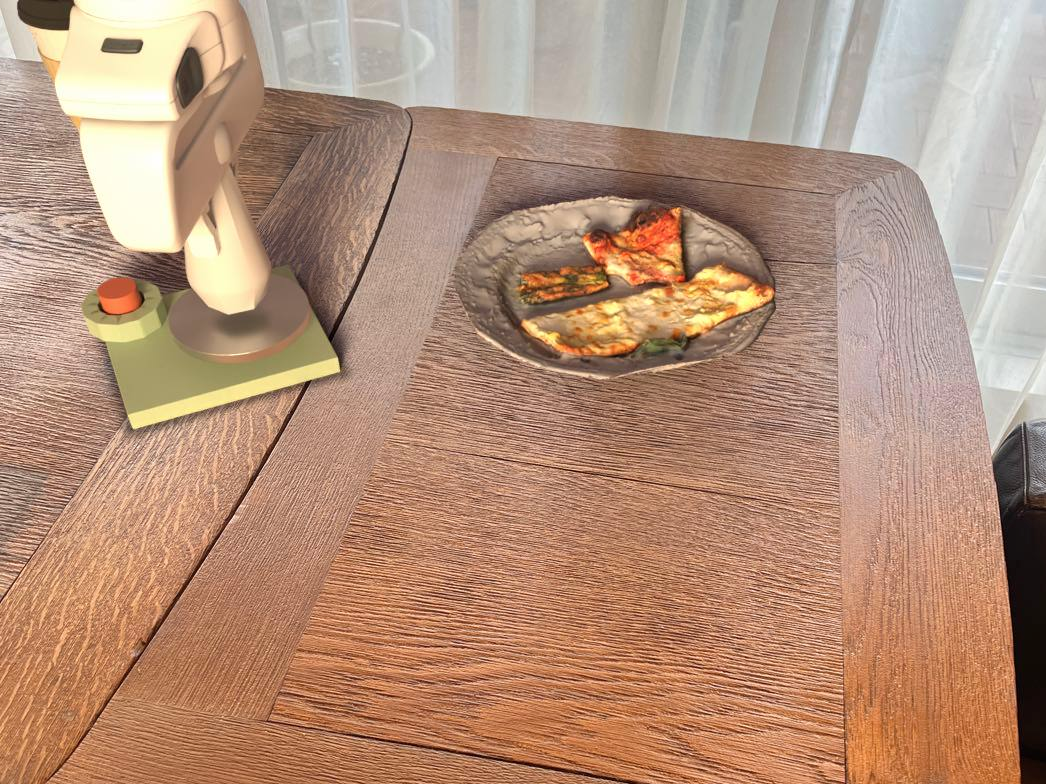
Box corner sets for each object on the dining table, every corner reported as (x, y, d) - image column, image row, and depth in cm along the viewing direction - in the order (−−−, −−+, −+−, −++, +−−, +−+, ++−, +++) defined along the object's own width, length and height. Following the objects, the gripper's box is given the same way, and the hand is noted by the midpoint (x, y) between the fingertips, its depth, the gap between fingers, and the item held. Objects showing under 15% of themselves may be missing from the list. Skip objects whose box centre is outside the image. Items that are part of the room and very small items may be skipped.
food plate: (700, 200, 92) (705, 163, 89) (825, 358, 77) (835, 320, 74) (426, 247, 87) (423, 209, 84) (505, 426, 72) (504, 387, 69)
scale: (121, 433, 71) (107, 400, 69) (88, 322, 80) (75, 290, 77) (340, 372, 76) (334, 339, 74) (288, 273, 84) (281, 241, 82)
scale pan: (187, 379, 71) (184, 370, 70) (158, 300, 77) (155, 291, 76) (328, 341, 73) (326, 332, 73) (289, 268, 79) (287, 259, 79)
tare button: (106, 320, 75) (100, 303, 74) (100, 300, 77) (93, 282, 76) (145, 311, 76) (139, 293, 75) (138, 290, 78) (132, 273, 77)
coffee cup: (195, 131, 100) (151, -36, 88) (152, 183, 93) (99, 10, 82) (100, 122, 101) (45, -44, 89) (51, 173, 94) (-15, 1, 83)
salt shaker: (178, 297, 74) (124, 121, 64) (244, 264, 76) (202, 90, 67) (227, 332, 71) (179, 154, 61) (293, 296, 74) (257, 120, 64)
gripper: (168, -47, 66) (217, 155, 77) (39, 101, 53) (119, 322, 63) (264, -43, 66) (300, 159, 76) (159, 107, 53) (220, 328, 63)
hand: (218, 234), depth 70 cm, fingers closed on salt shaker, 3 cm apart
